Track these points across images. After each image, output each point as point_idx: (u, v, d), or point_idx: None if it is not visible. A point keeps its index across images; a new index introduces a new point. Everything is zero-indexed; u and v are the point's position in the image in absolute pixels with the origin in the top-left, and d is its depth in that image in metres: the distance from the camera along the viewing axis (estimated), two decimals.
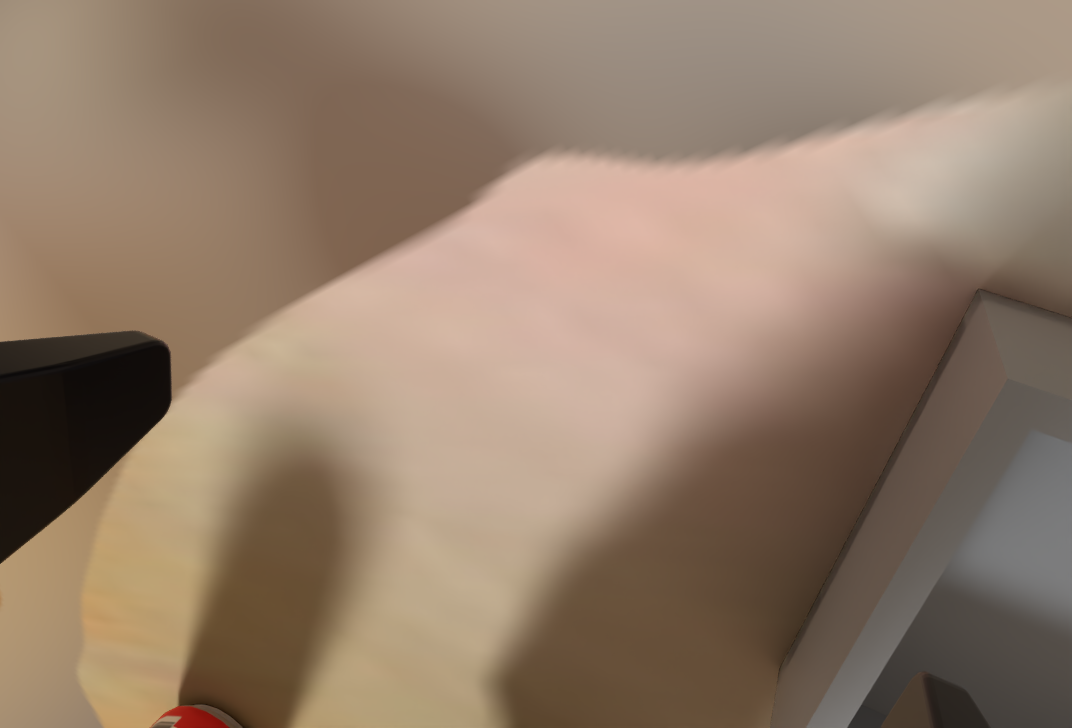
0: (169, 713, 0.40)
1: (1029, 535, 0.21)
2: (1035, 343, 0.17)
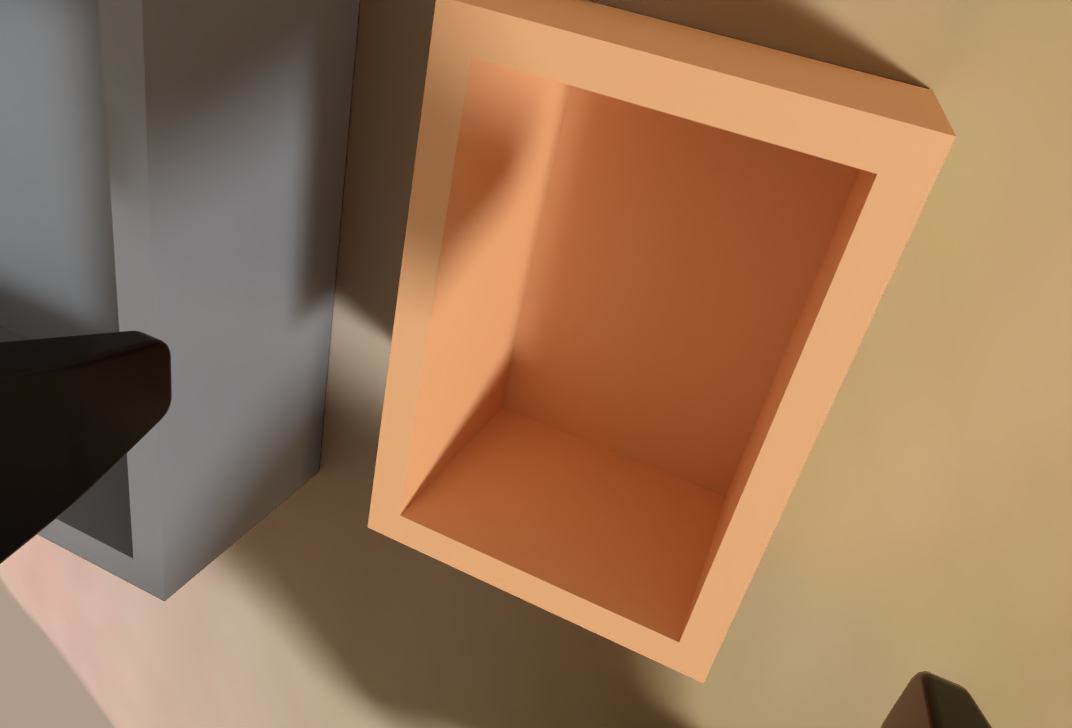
0: None
1: (43, 257, 0.21)
2: None
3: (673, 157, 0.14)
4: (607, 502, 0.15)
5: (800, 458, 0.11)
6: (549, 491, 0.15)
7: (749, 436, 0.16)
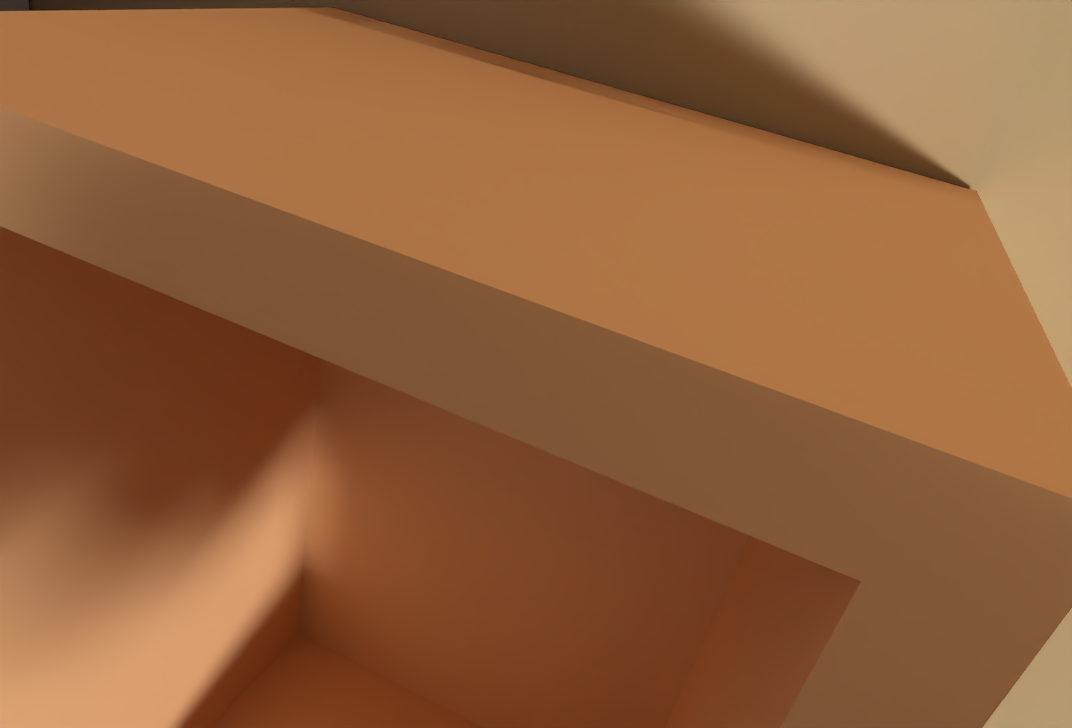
0: None
1: None
2: None
3: None
4: None
5: None
6: None
7: None
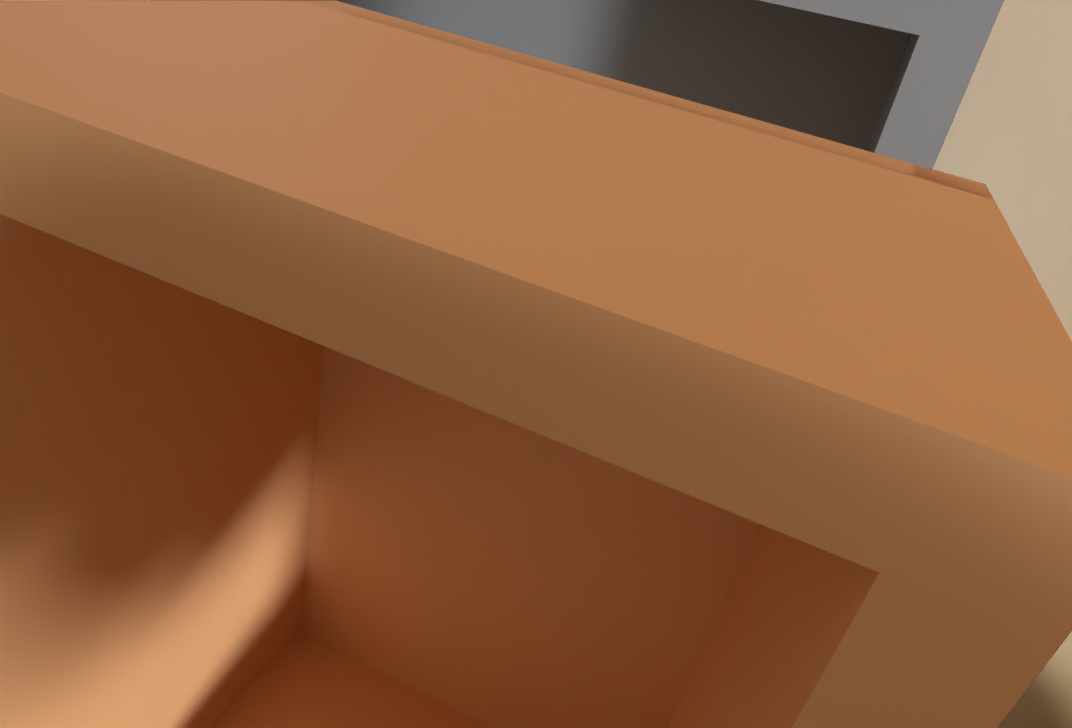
0: None
1: None
2: None
3: None
4: None
5: None
6: None
7: (667, 727, 0.09)
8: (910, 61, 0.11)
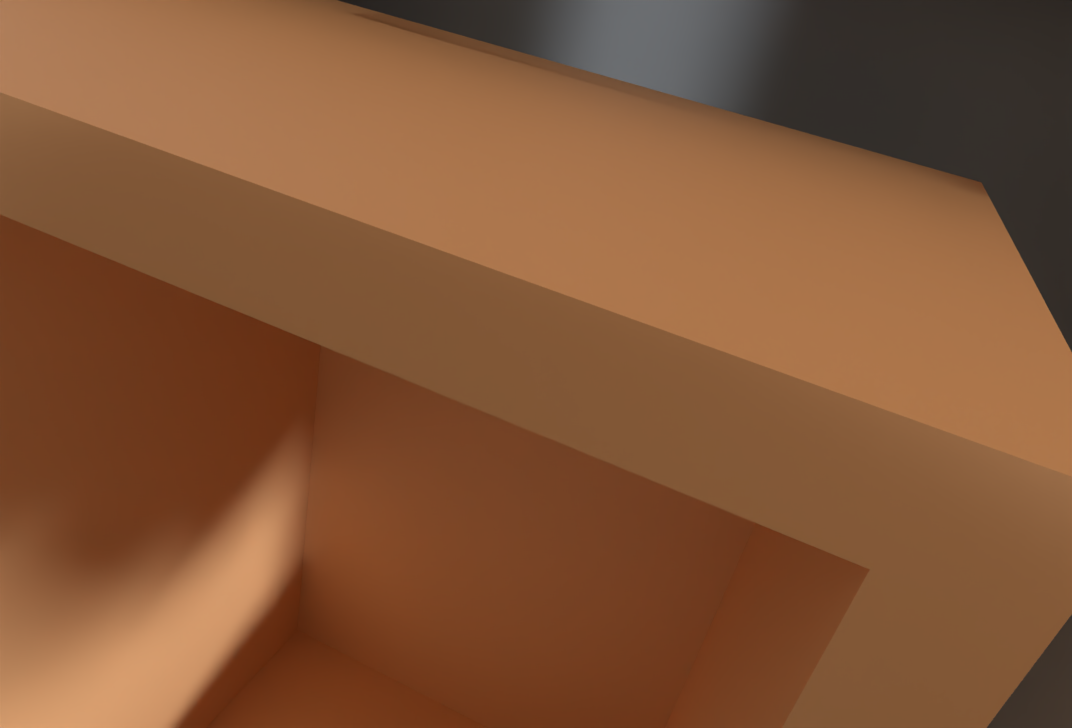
0: None
1: None
2: None
3: None
4: None
5: None
6: None
7: (664, 726, 0.09)
8: None
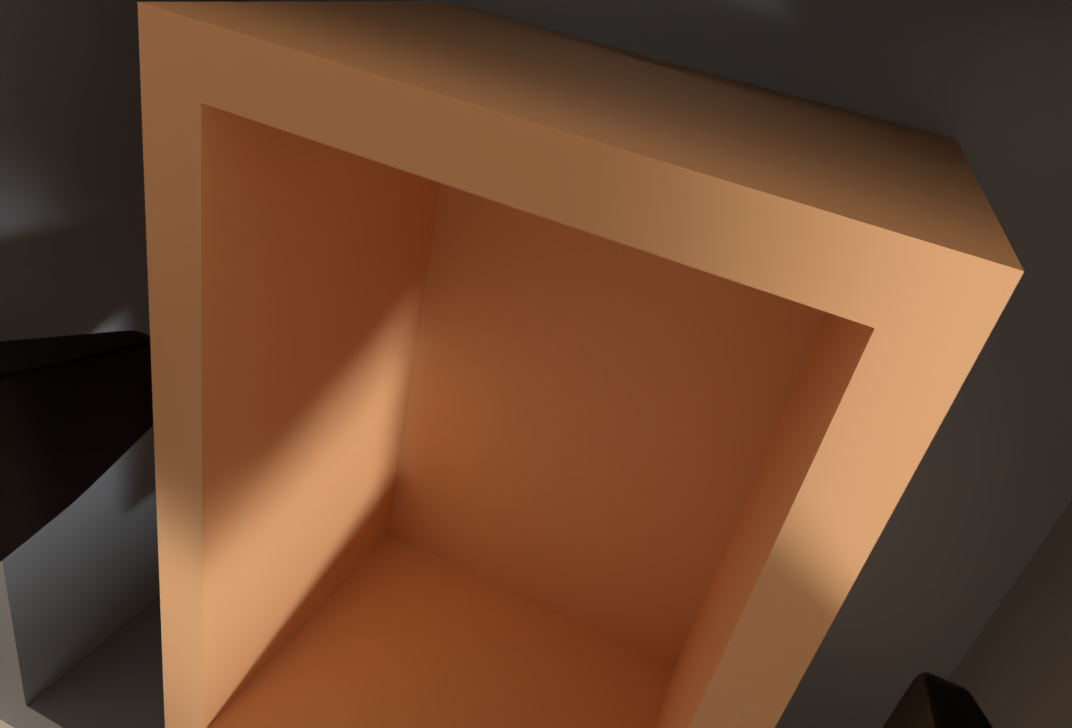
0: None
1: None
2: None
3: None
4: (508, 688, 0.11)
5: None
6: (431, 674, 0.11)
7: (703, 595, 0.12)
8: None
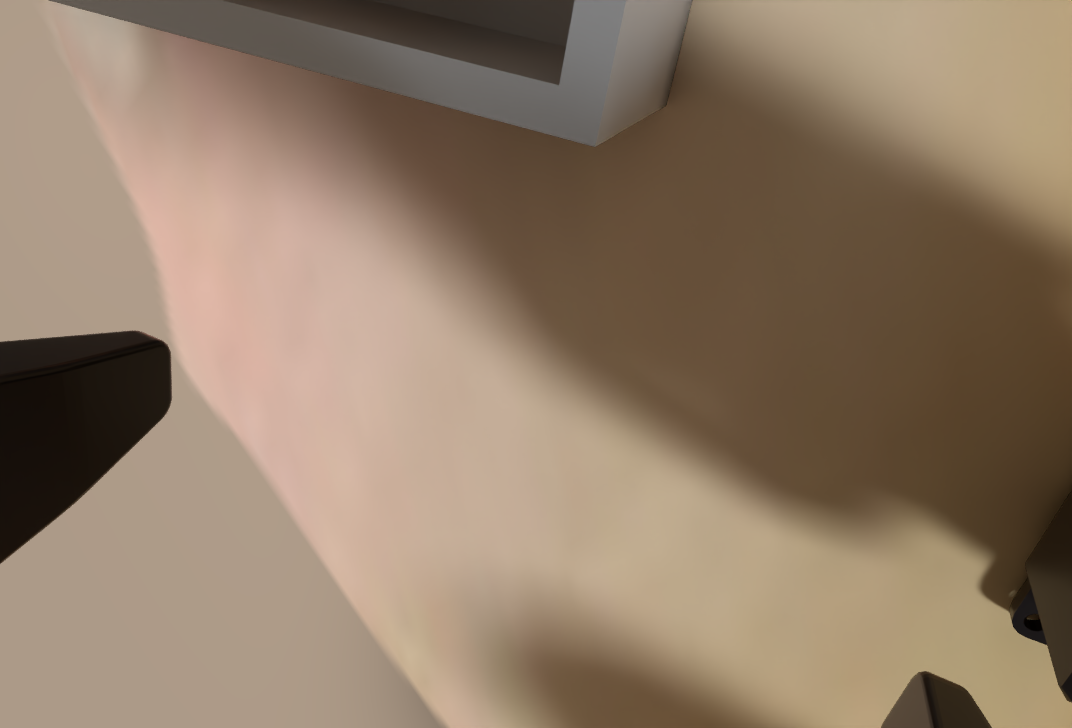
0: None
1: None
2: None
3: None
4: None
5: None
6: None
7: None
8: None
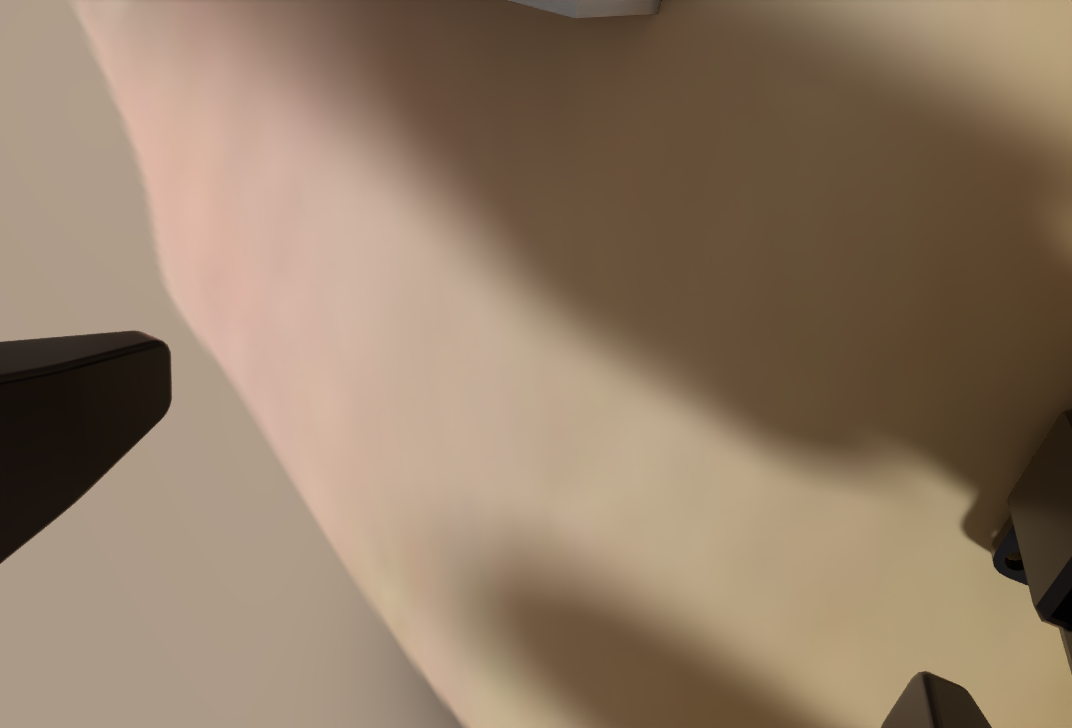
0: None
1: None
2: None
3: None
4: None
5: None
6: None
7: None
8: None
